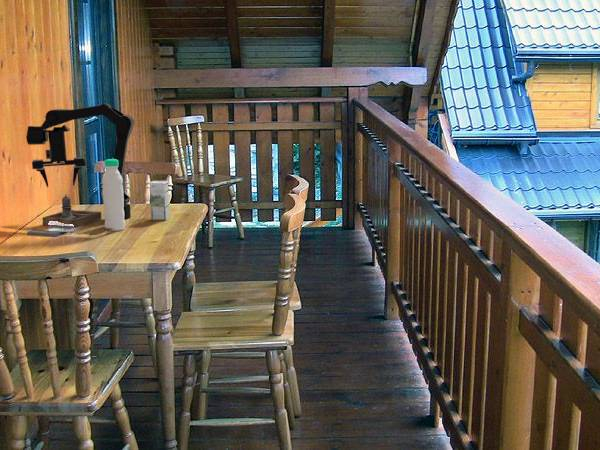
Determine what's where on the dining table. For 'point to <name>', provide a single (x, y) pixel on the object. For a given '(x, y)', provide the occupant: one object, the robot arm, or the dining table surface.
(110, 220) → the white bottle
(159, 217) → the syrup box
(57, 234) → the slate pad
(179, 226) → the dining table surface
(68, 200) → the grey turned upright piece
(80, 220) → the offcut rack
